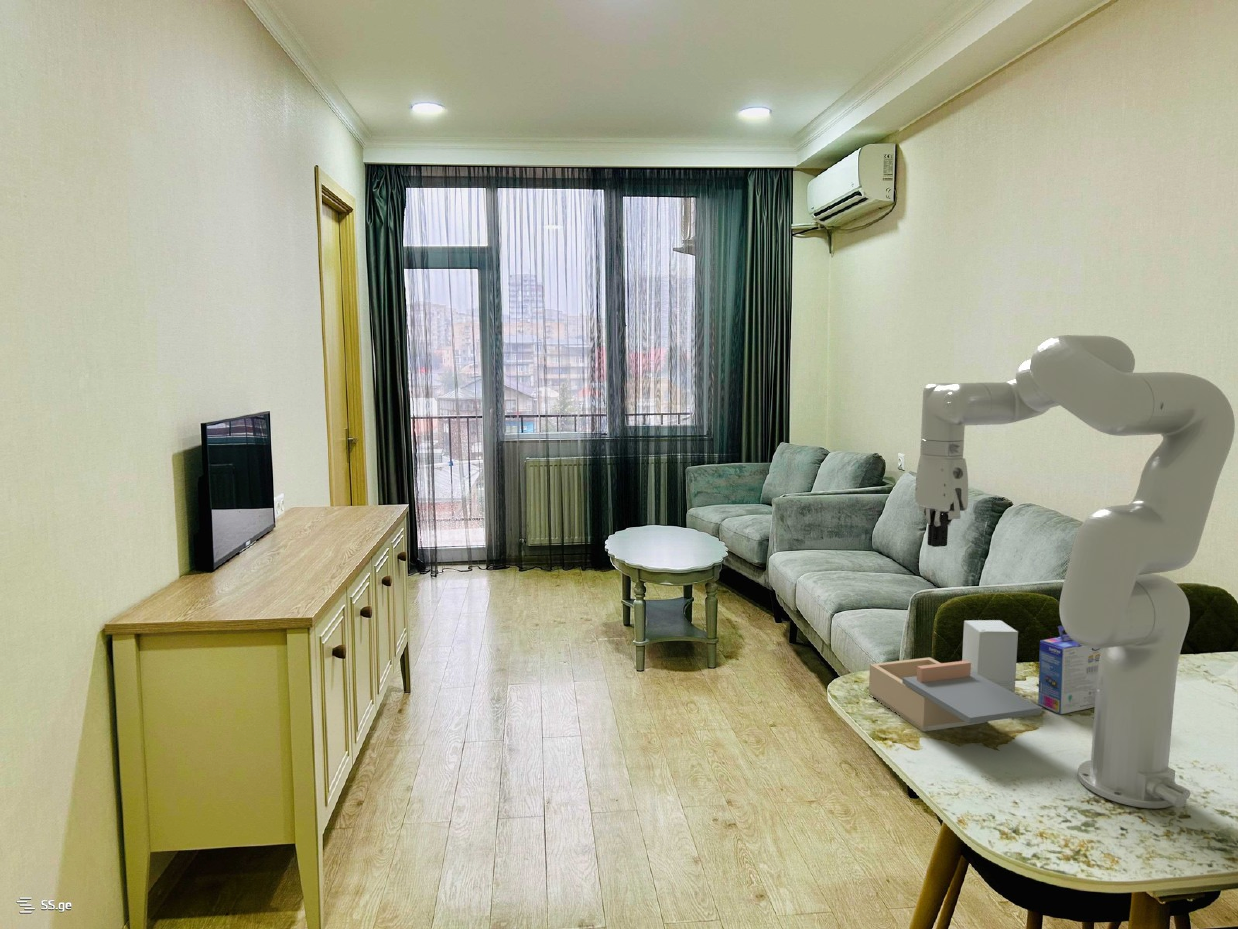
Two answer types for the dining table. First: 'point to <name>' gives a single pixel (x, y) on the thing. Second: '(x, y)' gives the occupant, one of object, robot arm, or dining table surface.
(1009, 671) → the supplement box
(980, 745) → the dining table surface
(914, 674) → the box
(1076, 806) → the dining table surface
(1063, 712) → the ink cartridge box
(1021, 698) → the lid
